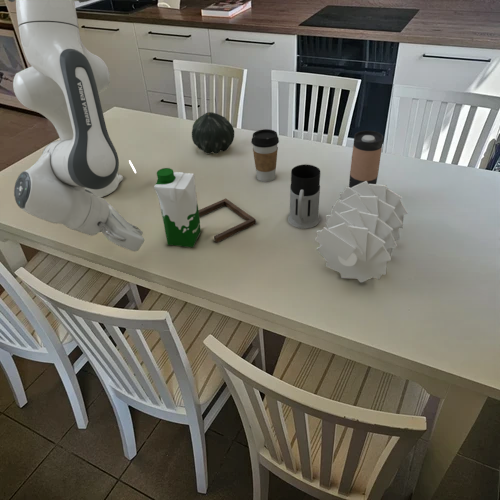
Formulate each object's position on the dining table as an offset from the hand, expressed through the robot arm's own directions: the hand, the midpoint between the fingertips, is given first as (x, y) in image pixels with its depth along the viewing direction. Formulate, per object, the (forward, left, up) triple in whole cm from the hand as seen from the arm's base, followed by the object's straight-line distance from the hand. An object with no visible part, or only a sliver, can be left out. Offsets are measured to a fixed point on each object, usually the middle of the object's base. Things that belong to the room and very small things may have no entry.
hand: (139, 232), depth 110 cm
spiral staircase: (+35, +41, -8) cm, 54 cm away
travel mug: (+18, +61, -8) cm, 64 cm away
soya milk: (0, +12, -8) cm, 14 cm away
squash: (-39, +48, -8) cm, 62 cm away
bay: (0, +23, -8) cm, 25 cm away
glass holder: (+16, +40, -8) cm, 44 cm away
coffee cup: (-11, +49, -8) cm, 51 cm away
